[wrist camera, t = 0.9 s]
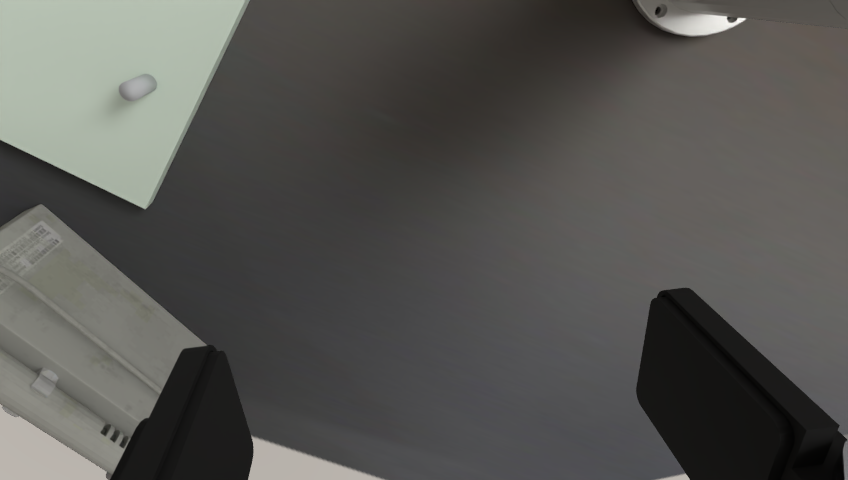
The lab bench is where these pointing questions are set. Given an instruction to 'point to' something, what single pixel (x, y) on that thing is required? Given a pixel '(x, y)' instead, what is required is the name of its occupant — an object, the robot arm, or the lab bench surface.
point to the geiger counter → (79, 339)
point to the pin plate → (109, 83)
